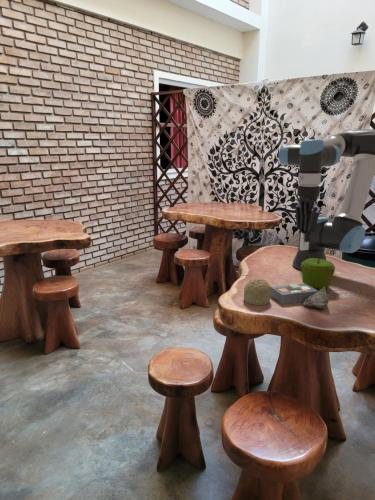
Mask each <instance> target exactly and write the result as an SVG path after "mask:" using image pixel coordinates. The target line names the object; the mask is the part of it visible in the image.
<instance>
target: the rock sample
mask: <svg viewBox="0 0 375 500" xmlns="http://www.w3.org/2000/svg"><path fill="white" fill-rule="evenodd" d="M302 303H303V304H302V305H304V306H305V307H309V308H317V309H320V310H325V309H326V308H327V306H328V305H329V300H328V295H327V290H326V288H325V287H323V288H322V289H319V290H318V292H317V293H315V294H314V295H311V296H309V297H308V298H306V299H305V300H304V302H302Z"/></svg>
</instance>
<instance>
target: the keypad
mask: <svg viewBox="0 0 375 500" xmlns="http://www.w3.org/2000/svg"><path fill="white" fill-rule="evenodd" d="M296 284H297V285H299V286H300V287H301V286H307V287H309V288H311V290H302V289H301V290H295V291H291V290H290V289H288V285H289V284H286V285H285V284H284V285H277V286H271V298H273V299H274V300H275V301H277V302H278V303H279V304H280V305H285V304H286V305H287V304H294V303H295V304H296V303H304V300H305V299H306V298H308V297H309V296H311V295H314V294H315V293H317V292H318V291H319V289H314V288H312V287H311V286H309V285H307V284H304V283H296ZM281 288H286V289H287V290H289V291H290V292H282V293H281V292H280V291H278V290H277V289H281Z"/></svg>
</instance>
